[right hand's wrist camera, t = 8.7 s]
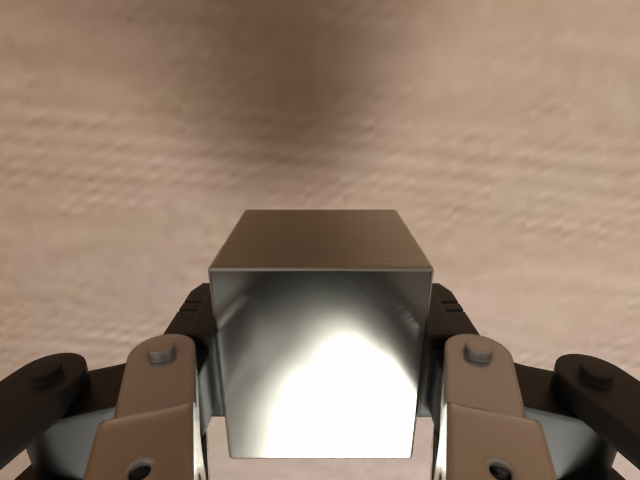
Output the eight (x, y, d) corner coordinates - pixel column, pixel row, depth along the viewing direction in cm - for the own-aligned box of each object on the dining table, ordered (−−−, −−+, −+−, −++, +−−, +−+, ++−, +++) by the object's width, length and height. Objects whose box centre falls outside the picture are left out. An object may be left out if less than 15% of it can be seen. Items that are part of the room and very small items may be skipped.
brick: (386, 353, 13) (413, 460, 9) (255, 353, 13) (228, 459, 9) (396, 209, 11) (435, 267, 8) (244, 209, 11) (206, 267, 8)
